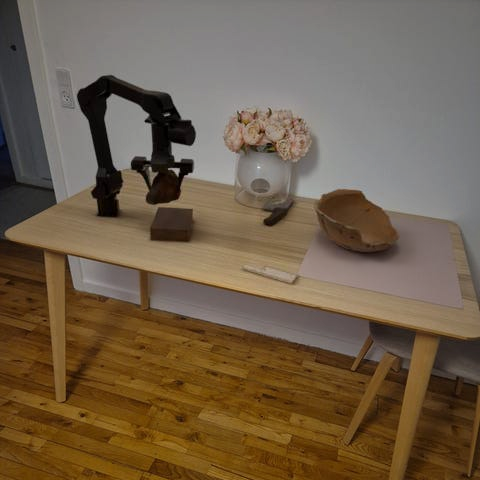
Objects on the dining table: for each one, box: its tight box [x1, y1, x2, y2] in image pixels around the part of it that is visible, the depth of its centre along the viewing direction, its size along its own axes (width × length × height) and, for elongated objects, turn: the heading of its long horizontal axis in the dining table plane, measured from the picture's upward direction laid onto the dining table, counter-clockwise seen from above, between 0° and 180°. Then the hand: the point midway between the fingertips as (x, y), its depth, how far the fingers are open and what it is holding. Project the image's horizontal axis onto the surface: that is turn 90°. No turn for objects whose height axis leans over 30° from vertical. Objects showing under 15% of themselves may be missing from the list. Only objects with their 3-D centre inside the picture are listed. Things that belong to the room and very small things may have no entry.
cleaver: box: [261, 197, 295, 226], centre depth 164 cm, size 30×10×2 cm, turn 162°
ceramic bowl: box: [313, 188, 400, 253], centre depth 143 cm, size 30×27×15 cm
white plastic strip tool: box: [243, 264, 299, 284], centre depth 125 cm, size 5×15×1 cm, turn 63°
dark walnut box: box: [149, 206, 194, 243], centre depth 145 cm, size 12×18×4 cm, turn 0°
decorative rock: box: [145, 168, 182, 206], centre depth 137 cm, size 12×6×11 cm, turn 132°
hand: (164, 192), depth 138 cm, fingers closed on decorative rock, 8 cm apart
